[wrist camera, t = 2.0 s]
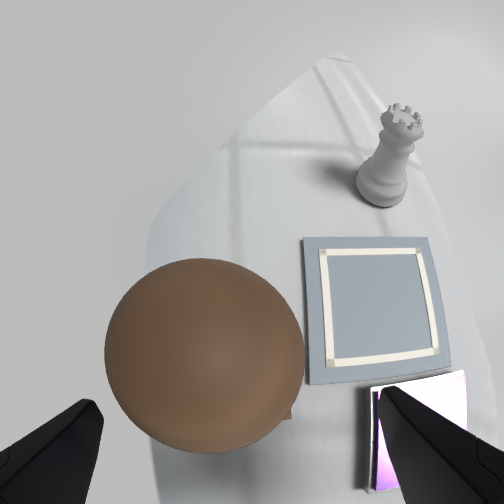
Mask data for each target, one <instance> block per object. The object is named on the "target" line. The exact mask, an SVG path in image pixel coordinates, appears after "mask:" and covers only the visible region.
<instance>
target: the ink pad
mask: <svg viewBox="0 0 504 504" xmlns="http://www.w3.org/2000/svg"><path fill="white" fill-rule="evenodd" d="M391 385H395V386H397V387H399V388H400V389H402V390H404V391H405V392H407V393H408V394H410V395H411V396H413V397H414V398H416V399H417V400H419V401H420V402H422V403H424V404H425V405H427V406H428V407H430V408H431V409H433V410H434V411H436V412H438V413H439V414H441V415H442V416H444V417H446V418H447V419H449V420H450V421H452V422H454V423H455V424H457V425H458V426H460V427H462V428H463V429H465V430H466V385H465V374H464V370H461V371H457V372H453V373H448V374H444V375H440V376H435V377H430V378H425V379H420V380H415V381H409V382H404V383H397V384H391ZM391 385H384V386H377V387H370V388H365V457H364V477H363V490H364V491H365V492H366V493H367V494H372V493H377V492H382V491H386V490H391V489H395V488H399V487H400V486H399V483H398V480H397V477H396V474H395V472H394V469H393V466H392V463H391V461H390V458H389V455H388V452H387V449H386V445H385V440H384V436H383V432H382V428H381V424H380V420H379V416H378V412H377V405H378V401H379V397H380V393H381V390H382V388H384V387H387V386H391Z"/></svg>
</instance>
